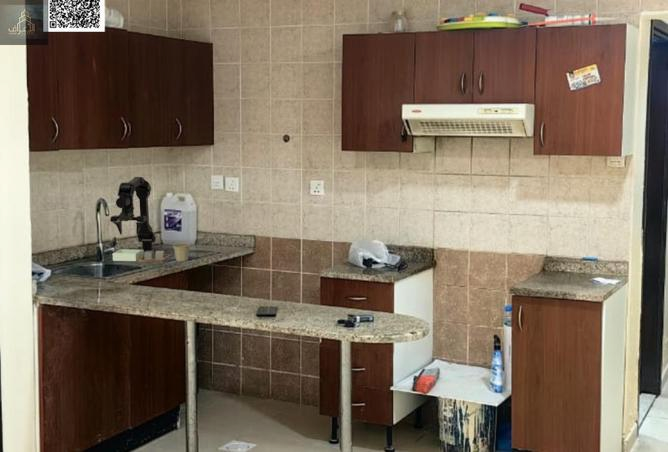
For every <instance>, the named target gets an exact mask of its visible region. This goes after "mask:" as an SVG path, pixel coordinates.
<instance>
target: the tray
mask: <svg viewBox="0 0 668 452" xmlns="http://www.w3.org/2000/svg"><path fill="white" fill-rule="evenodd" d="M172 255H173V254H166V253H164V258H163V259H156V254H155V253H154V258H153V259H145V256H143V257H141V258H139V259H137V261H136V262H147V263H149V262H151V263H152V262H157V263H161V262H164V261H166V260H168V259H169V258H172V257H173V256H172Z"/></svg>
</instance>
